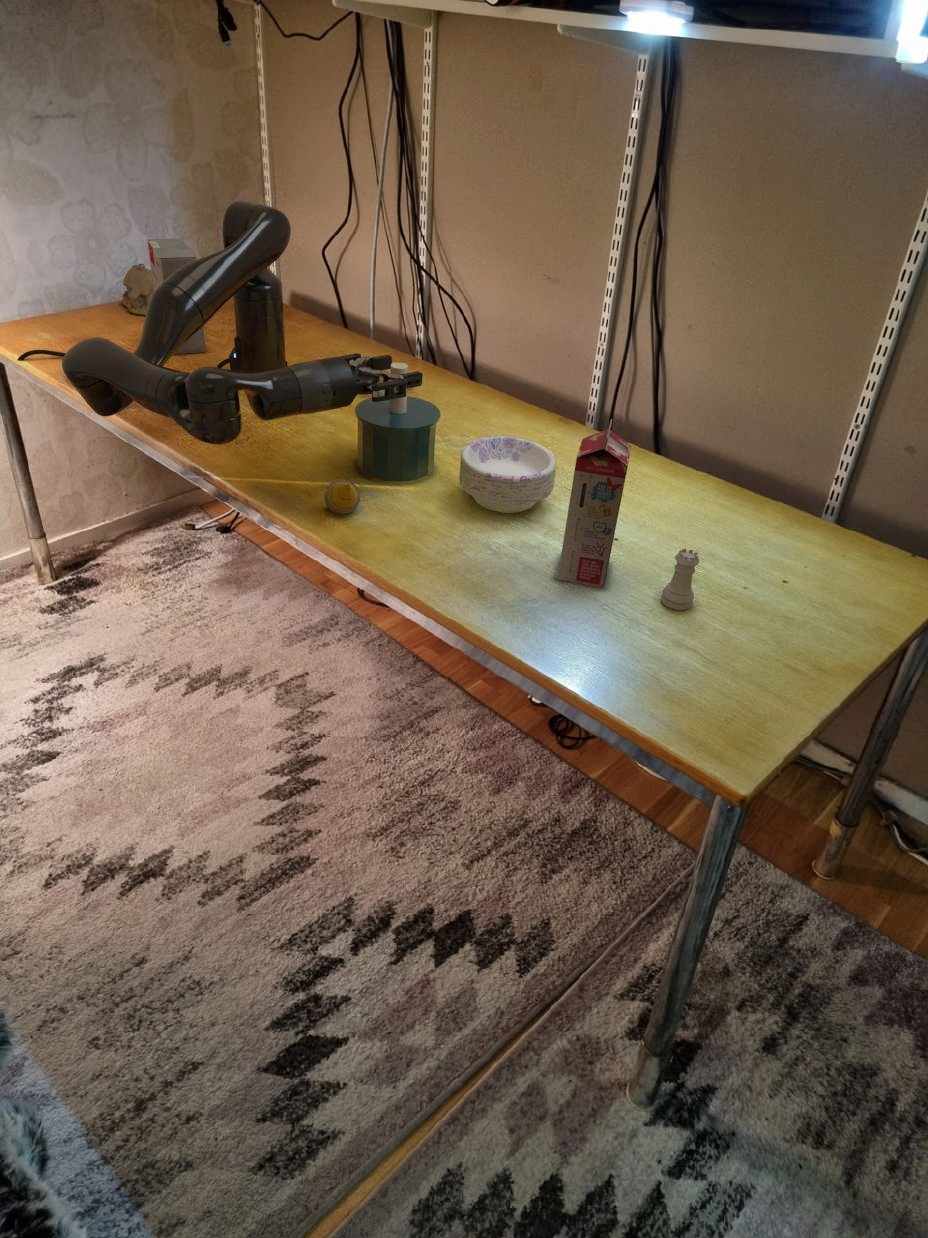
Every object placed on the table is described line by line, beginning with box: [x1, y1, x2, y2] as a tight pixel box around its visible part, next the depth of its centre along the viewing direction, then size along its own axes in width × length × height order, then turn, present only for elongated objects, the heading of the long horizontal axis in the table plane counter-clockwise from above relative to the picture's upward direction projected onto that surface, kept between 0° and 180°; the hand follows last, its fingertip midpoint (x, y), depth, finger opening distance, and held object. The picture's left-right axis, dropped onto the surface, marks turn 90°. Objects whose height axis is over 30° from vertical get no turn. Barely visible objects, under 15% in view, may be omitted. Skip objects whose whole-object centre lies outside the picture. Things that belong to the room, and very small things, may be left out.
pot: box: [357, 418, 437, 483], centre depth 146 cm, size 13×13×10 cm
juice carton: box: [556, 418, 632, 589], centre depth 119 cm, size 7×7×22 cm
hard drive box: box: [146, 238, 206, 355], centre depth 186 cm, size 16×8×20 cm, turn 25°
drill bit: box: [323, 478, 361, 516], centre depth 132 cm, size 5×5×10 cm
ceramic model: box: [121, 263, 154, 316], centre depth 208 cm, size 14×11×10 cm
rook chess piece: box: [660, 547, 700, 611], centre depth 118 cm, size 4×4×8 cm
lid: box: [354, 362, 441, 431], centre depth 141 cm, size 14×14×9 cm
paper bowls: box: [458, 436, 558, 514], centre depth 139 cm, size 15×15×8 cm
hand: (405, 369), depth 140 cm, fingers open, 8 cm apart
